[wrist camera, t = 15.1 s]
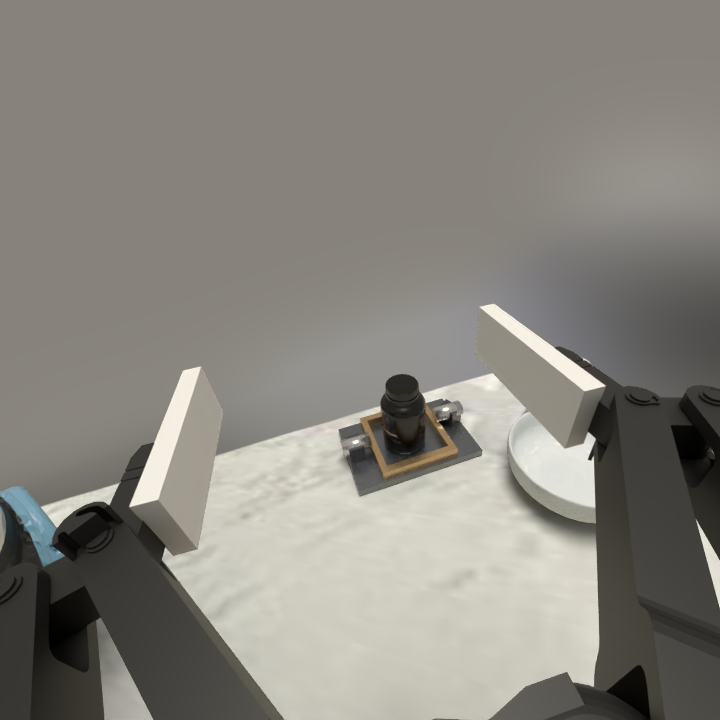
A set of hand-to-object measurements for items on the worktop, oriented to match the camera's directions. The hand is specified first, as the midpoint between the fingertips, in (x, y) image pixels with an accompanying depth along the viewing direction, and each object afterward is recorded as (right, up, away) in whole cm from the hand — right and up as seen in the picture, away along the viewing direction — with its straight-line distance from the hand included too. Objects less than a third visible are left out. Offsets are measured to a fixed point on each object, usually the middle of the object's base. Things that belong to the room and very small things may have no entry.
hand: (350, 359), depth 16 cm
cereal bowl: (+30, -17, +31) cm, 46 cm away
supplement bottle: (+8, -13, +39) cm, 42 cm away
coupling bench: (+8, -14, +40) cm, 43 cm away
